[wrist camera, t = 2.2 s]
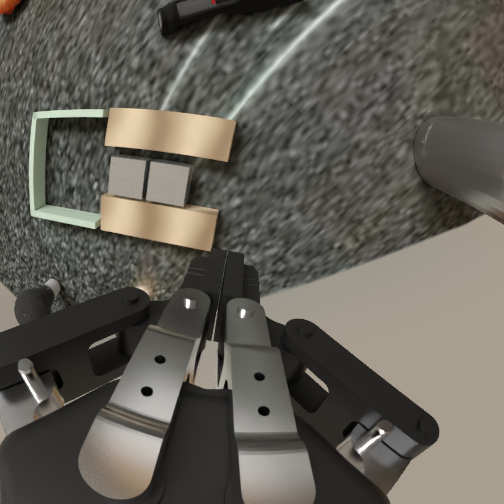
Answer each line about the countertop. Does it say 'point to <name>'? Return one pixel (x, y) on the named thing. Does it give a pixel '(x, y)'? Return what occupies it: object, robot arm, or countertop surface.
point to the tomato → (8, 6)
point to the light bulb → (36, 302)
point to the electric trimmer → (208, 10)
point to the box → (38, 171)
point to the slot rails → (174, 141)
